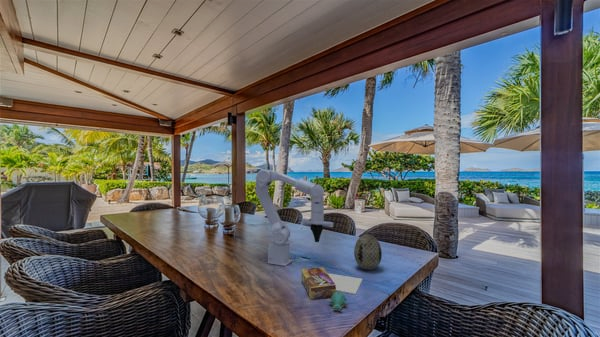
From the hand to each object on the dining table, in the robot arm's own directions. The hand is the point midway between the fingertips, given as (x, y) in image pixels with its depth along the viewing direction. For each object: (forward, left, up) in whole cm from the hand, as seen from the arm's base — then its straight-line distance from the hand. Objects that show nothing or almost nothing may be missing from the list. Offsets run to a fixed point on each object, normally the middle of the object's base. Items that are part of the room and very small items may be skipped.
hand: (317, 241), depth 122 cm
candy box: (+4, -17, -8) cm, 19 cm away
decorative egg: (+22, +4, -11) cm, 25 cm away
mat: (+14, -16, -10) cm, 24 cm away
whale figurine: (+19, -33, -11) cm, 40 cm away
